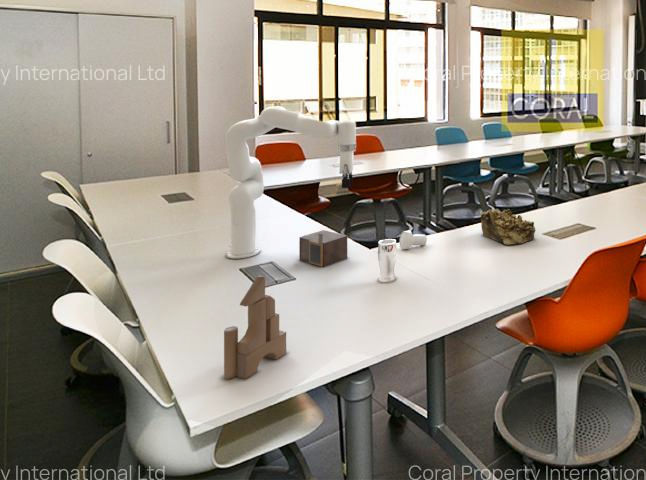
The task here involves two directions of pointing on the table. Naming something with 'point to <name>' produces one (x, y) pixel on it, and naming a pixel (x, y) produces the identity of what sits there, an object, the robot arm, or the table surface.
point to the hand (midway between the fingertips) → (347, 185)
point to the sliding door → (316, 251)
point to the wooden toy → (254, 335)
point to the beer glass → (387, 259)
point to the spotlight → (411, 239)
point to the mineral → (506, 227)
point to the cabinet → (325, 247)
